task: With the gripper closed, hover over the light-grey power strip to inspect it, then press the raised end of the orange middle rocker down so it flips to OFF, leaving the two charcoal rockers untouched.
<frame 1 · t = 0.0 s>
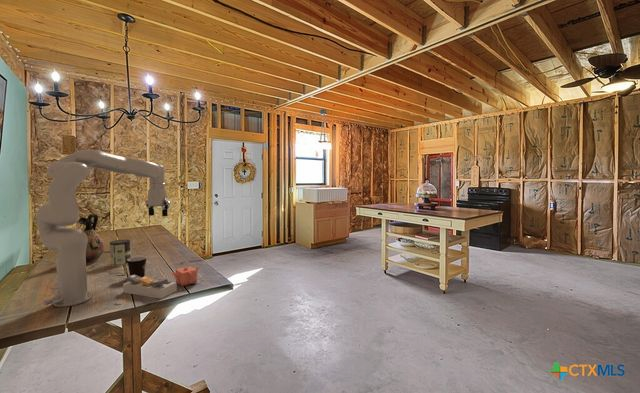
hand: (158, 215, 162), 31 cm above the table, fingers open, 9 cm apart
coffee can: (121, 264, 173), on the table
coffee mug: (139, 276, 152), on the table
rocker a: (159, 282, 128), point 6 cm above the table, hinge at -13.0°
rocker b: (147, 280, 130), point 6 cm above the table, hinge at 13.0°
ceramic jug: (90, 261, 177), on the table
rocker c: (135, 279, 132), point 6 cm above the table, hinge at 13.0°
power strip: (150, 291, 131), on the table
teapot: (186, 283, 142), on the table
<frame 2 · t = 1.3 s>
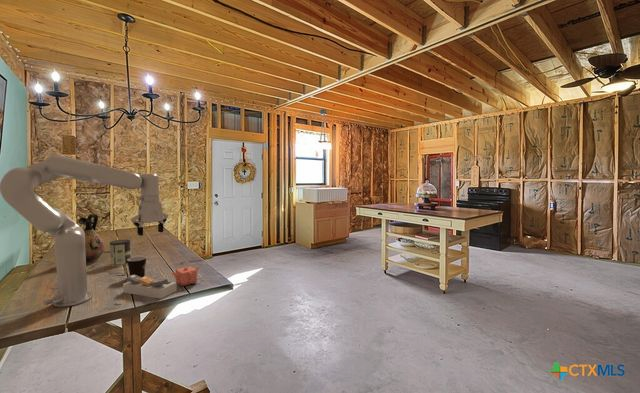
hand: (150, 233, 138), 26 cm above the table, fingers open, 9 cm apart
nothing on the table moved.
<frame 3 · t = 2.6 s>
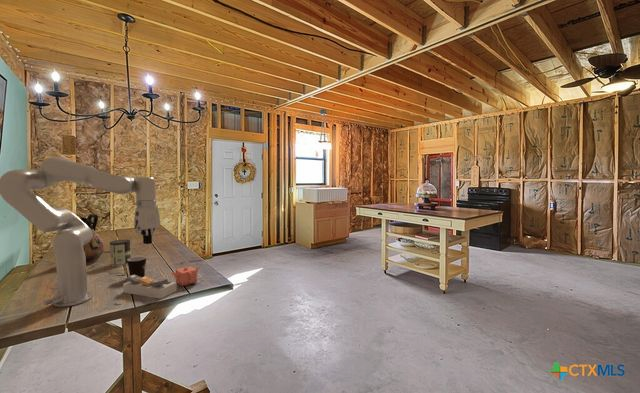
hand: (147, 243, 129), 23 cm above the table, fingers closed
nothing on the table moved.
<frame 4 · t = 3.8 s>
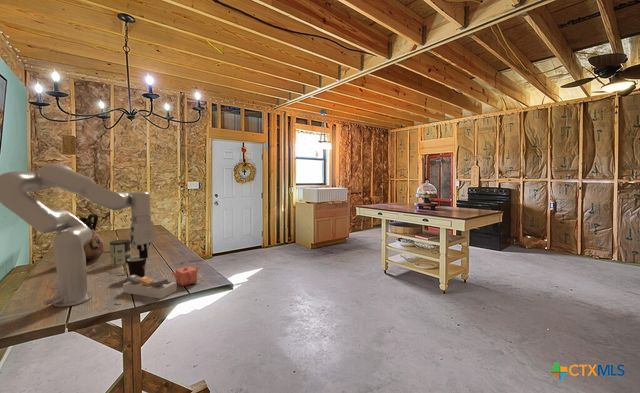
hand: (143, 258, 130), 16 cm above the table, fingers closed
nothing on the table moved.
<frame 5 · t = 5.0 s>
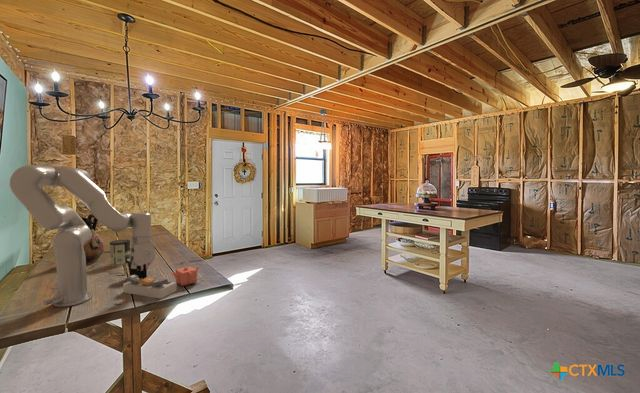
hand: (142, 278, 131), 7 cm above the table, fingers closed
rocker b: (147, 280, 130), point 6 cm above the table, hinge at 6.4°, touching gripper
everything else where it was.
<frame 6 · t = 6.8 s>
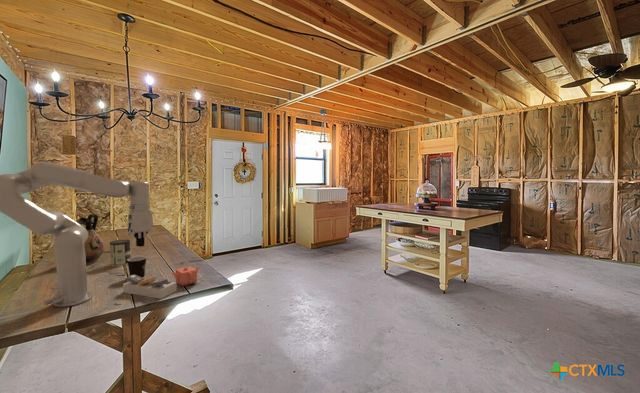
hand: (140, 245, 133), 21 cm above the table, fingers closed
rocker b: (146, 280, 130), point 6 cm above the table, hinge at -20.0°
everything else where it was.
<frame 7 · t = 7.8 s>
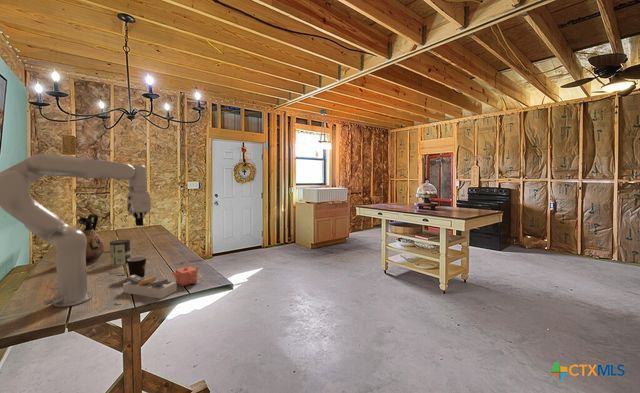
hand: (139, 225, 142), 29 cm above the table, fingers closed
rocker b: (146, 280, 130), point 6 cm above the table, hinge at -17.1°
everything else where it was.
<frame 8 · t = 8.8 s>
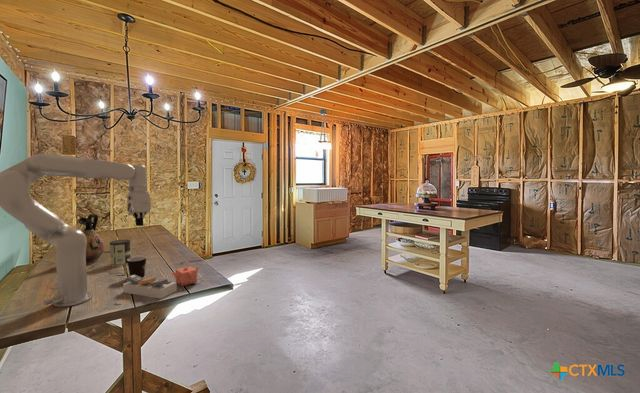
hand: (139, 225, 142), 29 cm above the table, fingers closed
rocker b: (146, 280, 130), point 6 cm above the table, hinge at -15.6°
everything else where it was.
at the end: rocker b at -16° (first picture: +13°); rocker c at +13° (first picture: +13°); rocker a at -13° (first picture: -13°) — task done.
